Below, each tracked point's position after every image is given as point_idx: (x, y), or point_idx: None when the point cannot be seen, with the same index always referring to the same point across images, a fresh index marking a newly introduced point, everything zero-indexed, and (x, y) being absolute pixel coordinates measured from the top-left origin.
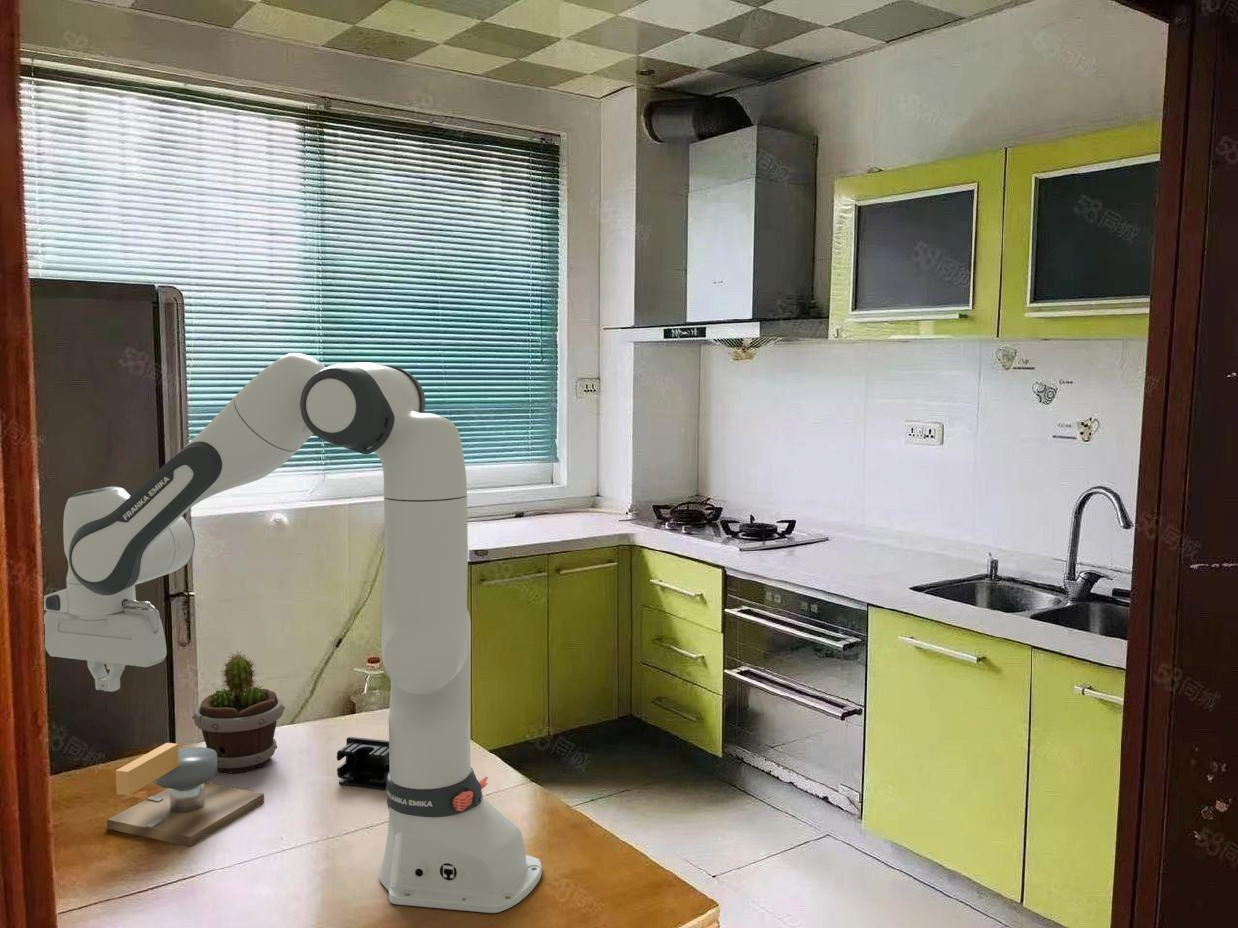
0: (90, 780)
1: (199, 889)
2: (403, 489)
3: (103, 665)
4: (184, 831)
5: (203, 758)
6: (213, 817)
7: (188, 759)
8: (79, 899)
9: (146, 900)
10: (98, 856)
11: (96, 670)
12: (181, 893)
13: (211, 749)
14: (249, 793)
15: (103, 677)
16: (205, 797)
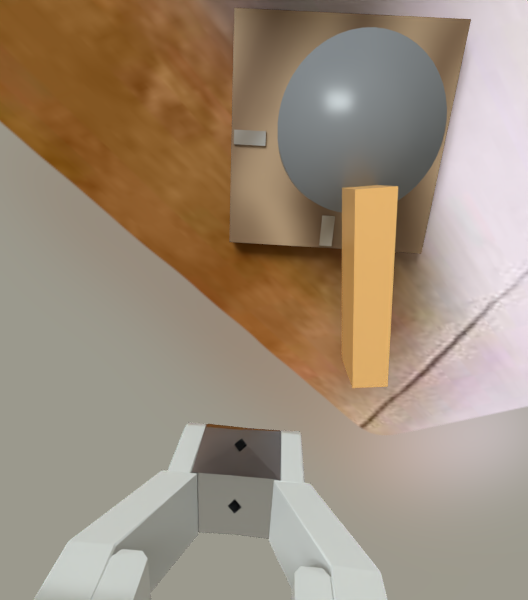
0: (7, 58)
1: (501, 350)
2: None
3: (129, 537)
4: (399, 240)
5: (414, 114)
6: None
7: (375, 135)
8: (355, 407)
9: (443, 389)
10: (292, 316)
11: (153, 575)
12: (481, 365)
13: (397, 36)
14: (434, 31)
15: (200, 502)
16: None
